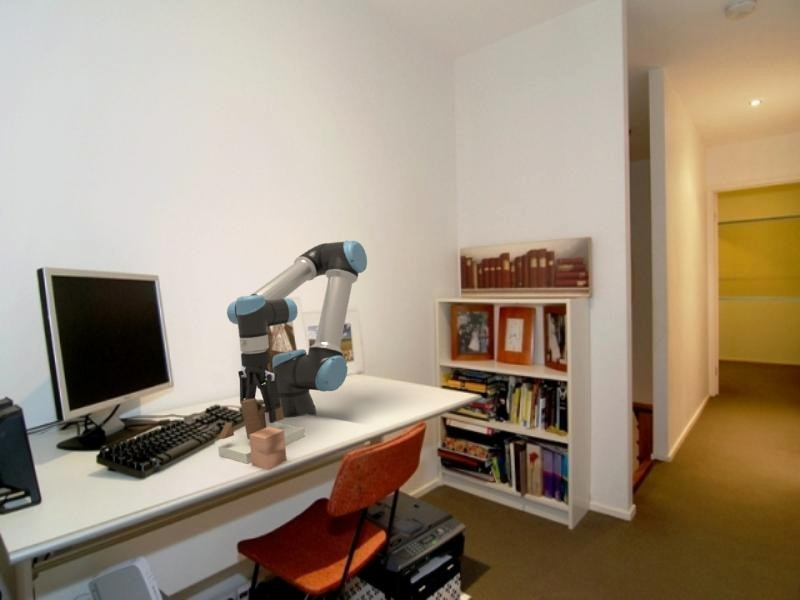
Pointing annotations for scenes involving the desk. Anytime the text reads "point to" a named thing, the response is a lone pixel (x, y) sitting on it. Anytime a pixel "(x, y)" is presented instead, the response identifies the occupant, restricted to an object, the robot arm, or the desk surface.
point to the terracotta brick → (267, 448)
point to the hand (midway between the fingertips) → (262, 431)
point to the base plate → (241, 445)
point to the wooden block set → (251, 418)
